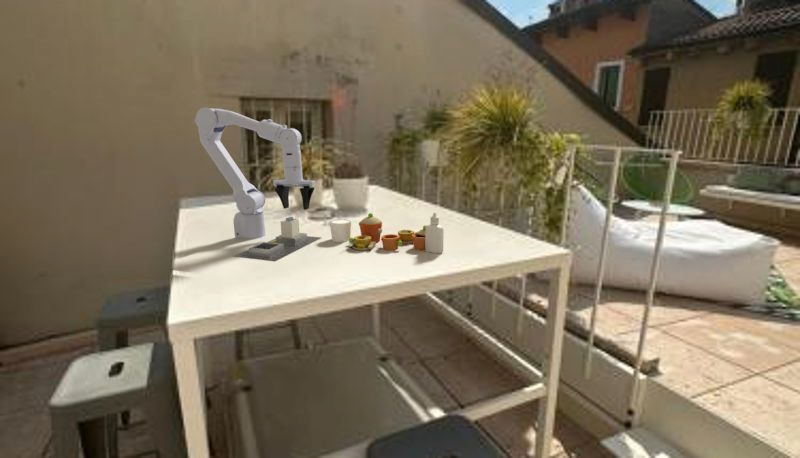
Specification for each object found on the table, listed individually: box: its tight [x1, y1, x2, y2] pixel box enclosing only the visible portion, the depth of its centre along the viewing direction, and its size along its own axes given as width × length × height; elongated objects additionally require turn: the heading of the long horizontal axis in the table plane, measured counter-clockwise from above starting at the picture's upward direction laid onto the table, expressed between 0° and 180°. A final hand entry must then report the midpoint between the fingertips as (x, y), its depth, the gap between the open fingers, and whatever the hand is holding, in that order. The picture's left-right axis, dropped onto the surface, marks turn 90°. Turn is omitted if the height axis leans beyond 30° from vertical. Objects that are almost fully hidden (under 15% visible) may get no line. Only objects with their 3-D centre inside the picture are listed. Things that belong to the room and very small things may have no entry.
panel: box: [232, 232, 322, 262], centre depth 130 cm, size 14×26×3 cm, turn 161°
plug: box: [280, 216, 301, 238], centre depth 135 cm, size 4×4×8 cm
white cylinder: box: [329, 219, 352, 243], centre depth 137 cm, size 7×7×7 cm
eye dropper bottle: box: [424, 211, 444, 255], centre depth 127 cm, size 4×6×12 cm
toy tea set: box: [348, 212, 427, 251], centre depth 135 cm, size 26×16×10 cm, turn 87°
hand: (296, 208), depth 140 cm, fingers open, 7 cm apart
